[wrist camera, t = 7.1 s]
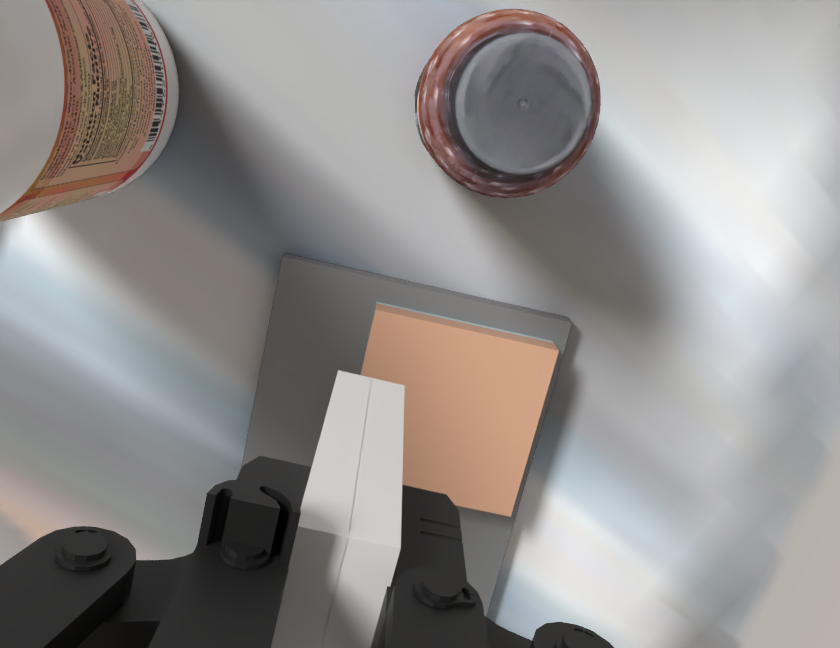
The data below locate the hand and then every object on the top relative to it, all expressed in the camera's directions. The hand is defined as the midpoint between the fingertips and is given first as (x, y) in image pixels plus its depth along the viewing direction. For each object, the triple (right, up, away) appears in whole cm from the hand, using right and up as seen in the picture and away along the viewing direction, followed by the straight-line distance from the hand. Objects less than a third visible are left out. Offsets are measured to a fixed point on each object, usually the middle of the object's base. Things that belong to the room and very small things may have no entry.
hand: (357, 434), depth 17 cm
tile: (-1, -1, +17) cm, 17 cm away
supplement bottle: (+4, +12, +16) cm, 20 cm away
